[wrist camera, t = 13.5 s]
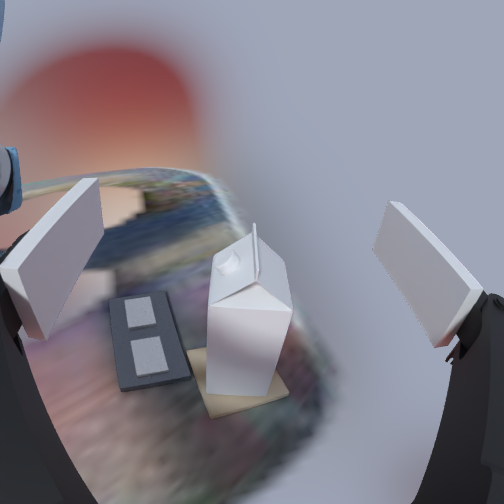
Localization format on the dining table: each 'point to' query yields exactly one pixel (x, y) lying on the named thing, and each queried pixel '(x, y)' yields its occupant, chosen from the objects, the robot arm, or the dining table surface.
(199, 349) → the coaster
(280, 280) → the milk carton
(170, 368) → the label panel
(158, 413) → the dining table surface
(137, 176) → the dining table surface
